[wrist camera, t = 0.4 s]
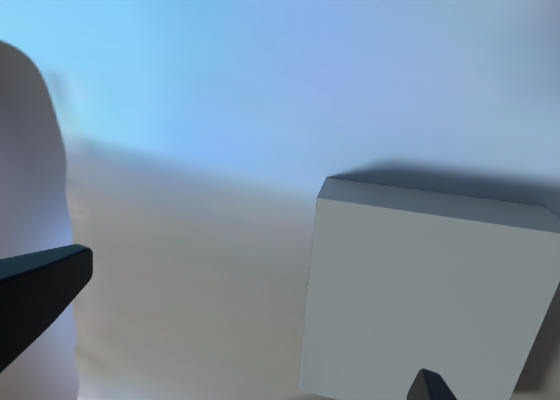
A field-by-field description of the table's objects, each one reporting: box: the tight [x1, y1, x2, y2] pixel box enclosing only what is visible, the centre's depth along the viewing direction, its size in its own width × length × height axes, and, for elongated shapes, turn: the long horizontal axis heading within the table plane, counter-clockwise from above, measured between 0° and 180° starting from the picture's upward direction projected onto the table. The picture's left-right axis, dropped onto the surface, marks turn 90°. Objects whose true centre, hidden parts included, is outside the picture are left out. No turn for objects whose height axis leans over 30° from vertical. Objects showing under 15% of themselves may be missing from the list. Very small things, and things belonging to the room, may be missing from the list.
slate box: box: [297, 177, 560, 400], centre depth 22 cm, size 14×12×4 cm
